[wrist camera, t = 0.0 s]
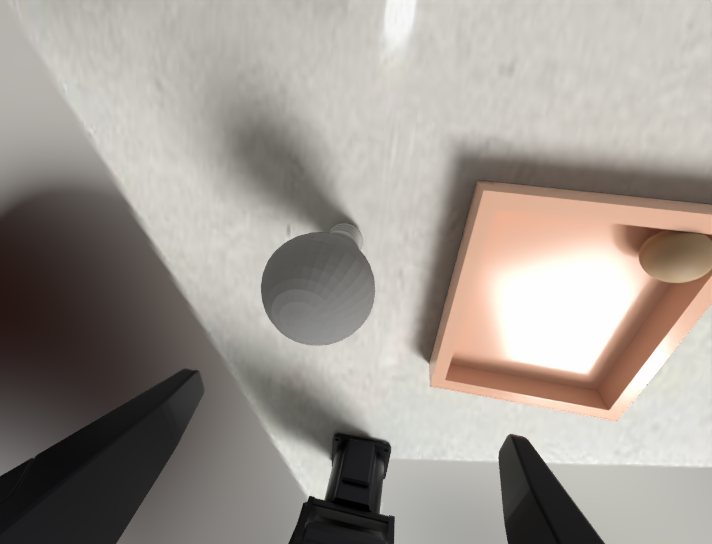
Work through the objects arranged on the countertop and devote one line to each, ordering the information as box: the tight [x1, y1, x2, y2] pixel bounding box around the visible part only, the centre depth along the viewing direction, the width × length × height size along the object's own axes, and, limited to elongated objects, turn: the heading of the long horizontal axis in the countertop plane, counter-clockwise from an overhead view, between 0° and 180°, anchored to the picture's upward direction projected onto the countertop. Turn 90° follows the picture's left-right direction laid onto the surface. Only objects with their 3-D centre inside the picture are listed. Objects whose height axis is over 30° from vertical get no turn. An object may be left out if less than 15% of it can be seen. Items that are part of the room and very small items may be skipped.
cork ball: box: [639, 230, 712, 283], centre depth 17 cm, size 3×3×3 cm
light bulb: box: [261, 223, 375, 345], centre depth 18 cm, size 6×6×10 cm
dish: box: [429, 180, 712, 421], centre depth 21 cm, size 16×14×2 cm
